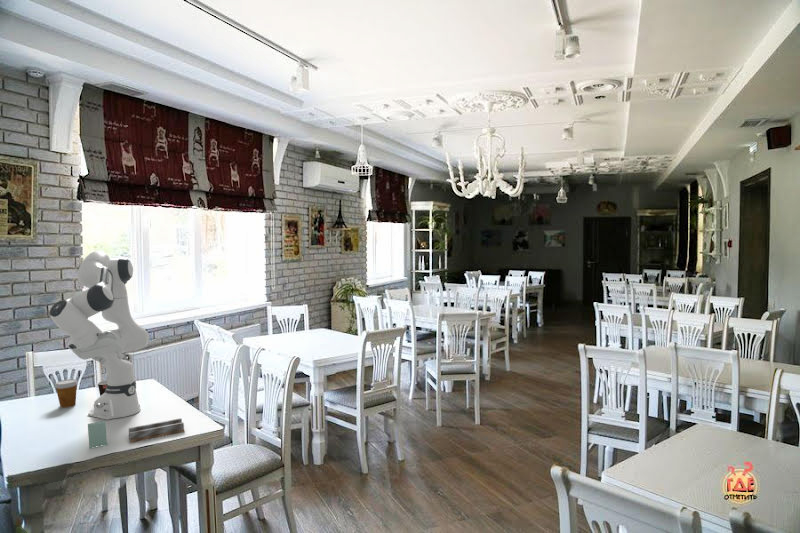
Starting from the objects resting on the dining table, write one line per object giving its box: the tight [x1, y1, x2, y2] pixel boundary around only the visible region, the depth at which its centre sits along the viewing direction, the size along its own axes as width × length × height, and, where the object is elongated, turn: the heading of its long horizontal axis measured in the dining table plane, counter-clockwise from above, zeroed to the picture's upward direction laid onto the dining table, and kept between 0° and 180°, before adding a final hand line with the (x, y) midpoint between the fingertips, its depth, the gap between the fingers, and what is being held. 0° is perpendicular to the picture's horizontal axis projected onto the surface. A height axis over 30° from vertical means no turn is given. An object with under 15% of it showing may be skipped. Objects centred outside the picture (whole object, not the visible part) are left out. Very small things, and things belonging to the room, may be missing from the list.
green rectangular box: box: [87, 420, 108, 449], centre depth 207 cm, size 6×2×9 cm, turn 120°
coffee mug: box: [97, 379, 108, 397], centre depth 260 cm, size 12×9×10 cm
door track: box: [128, 417, 185, 444], centre depth 217 cm, size 20×9×4 cm, turn 120°
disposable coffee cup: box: [54, 378, 79, 409], centre depth 257 cm, size 10×10×12 cm
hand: (113, 360), depth 205 cm, fingers open, 8 cm apart
